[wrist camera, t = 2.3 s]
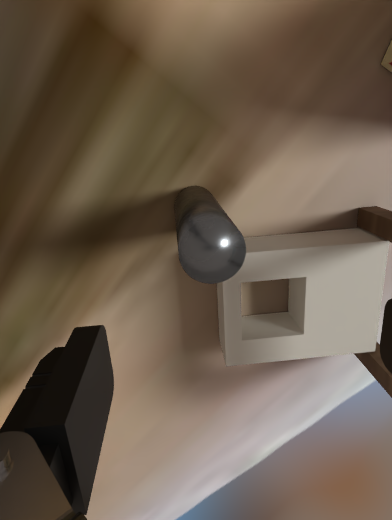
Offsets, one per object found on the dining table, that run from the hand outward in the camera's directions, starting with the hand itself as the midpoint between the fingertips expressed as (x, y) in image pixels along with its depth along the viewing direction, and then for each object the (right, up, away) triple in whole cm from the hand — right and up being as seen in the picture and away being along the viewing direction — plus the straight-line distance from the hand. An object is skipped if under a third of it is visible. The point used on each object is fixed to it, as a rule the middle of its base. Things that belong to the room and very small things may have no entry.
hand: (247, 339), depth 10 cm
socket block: (+7, 0, +22) cm, 23 cm away
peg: (-2, +7, +19) cm, 20 cm away
